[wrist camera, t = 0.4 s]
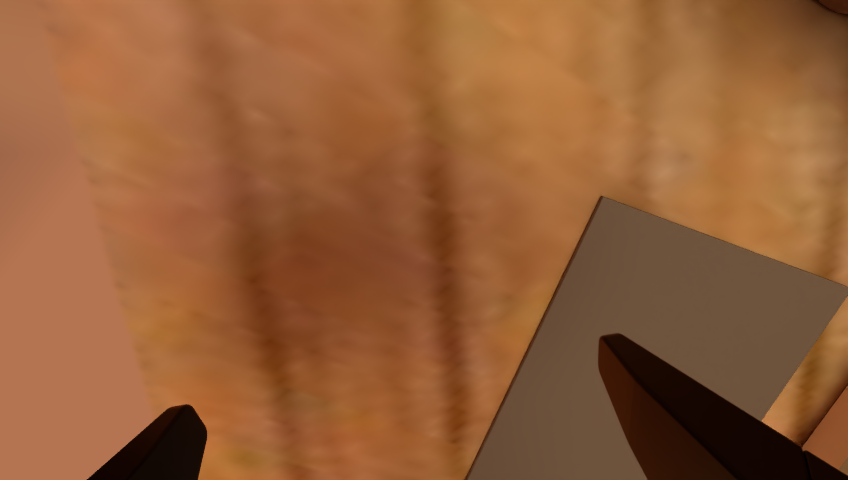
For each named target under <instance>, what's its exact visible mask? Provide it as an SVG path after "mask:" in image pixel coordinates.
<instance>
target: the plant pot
mask: <svg viewBox="0 0 848 480" xmlns="http://www.w3.org/2000/svg"><path fill="white" fill-rule="evenodd" d="M818 1H819V2H820V3H821V4H823V5H824V6H826V7H828V8H829V9H831V10H833V11H835V12H838V13H843V14H848V0H818Z"/></svg>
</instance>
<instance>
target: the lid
mask: <svg viewBox="0 0 848 480" xmlns="http://www.w3.org/2000/svg"><path fill="white" fill-rule="evenodd" d="M838 470H840V471H841V472H843V473H845V474H846V475H848V458H847V459H846V460H845V462H844V463H843V464H842V465H841V467H840V468H839V469H838Z"/></svg>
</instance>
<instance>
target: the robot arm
mask: <svg viewBox="0 0 848 480" xmlns="http://www.w3.org/2000/svg"><path fill="white" fill-rule="evenodd" d="M598 369H599V372H600V375H601V378H602V380H603V383H604V385H605V388H606V390H607V393H608V395H609V398H610V400H611V403H612V405H613V407H614V410H615V412H616V415H617V417H618V420H619V422H620V425H621V427H622V430H623V432H624V434H625V437H626V439H627V441H628V444H629V446H630V448H631V450H632V452H633V454H634V456H635V457H636V459H637V461H638V463H639V465H640V467H641V469H642V470H643V472H644V474H645V476H646V478H647V480H848V475H846V474H845V473H843V472H841V471H840V470H838V469H836V468H835V467H833V466H831V465H830V464H828V463H827V462H825V461H824V460H822V459H820V458H819V457H817V456H816V455H814V454H812V453H811V452H809V451H807V450H804V451H803V449H802V447H801V446H799V445H798V444H796V443H795V442H793V441H791V440H790V439H788V438H787V437H785V436H783V435H782V434H780V433H779V432H777V431H775V430H774V429H772V428H771V427H769V426H768V425H766V424H764V423H763V422H761V421H760V420H758V419H756V418H755V417H753V416H752V415H750V414H748V413H747V412H745V411H744V410H742V409H740V408H739V407H737V406H736V405H734V404H733V403H731V402H729V401H728V400H726V399H725V398H723V397H721V396H720V395H718V394H717V393H715V392H713V391H712V390H710V389H709V388H707V387H705V386H704V385H702V384H701V383H699V382H698V381H696V380H694V379H693V378H691V377H690V376H688V375H686V374H685V373H683V372H682V371H680V370H678V369H677V368H675V367H674V366H672V365H670V364H669V363H667V362H666V361H664V360H663V359H661V358H659V357H658V356H656V355H655V354H653V353H651V352H650V351H648V350H647V349H645V348H643V347H642V346H640V345H639V344H637V343H635V342H634V341H632V340H631V339H629V338H628V337H626V336H624V335H623V334H620V333H613V334H607V335H602V336H601V337H600V338H599V345H598ZM206 441H207V430H206V427H205V425H204V423H203V422H202V420H201V419H200V417H199V416H198V414H197V413H196V411H195V410H194V408H193V407H192V406H190V405H187V404H185V405H179V406H173V407H170V408H168V409H167V410H166V411H165V412H163V413H162V414H161V415H160V416H159V417H158V418H157V419H155V420H154V421H153V422H152V423H151V424H150V425H149V426H148V427H146V428H145V429H144V430H143V431H142V432H141V433H140V434H138V435H137V436H136V437H135V438H134V439H133V440H132V441H130V442H129V443H128V444H127V445H126V446H125V447H124V448H122V449H121V450H120V451H119V452H118V453H117V454H116V455H115V456H113V457H112V458H111V459H110V460H109V461H108V462H107V463H105V464H104V465H103V466H102V467H101V468H100V469H99V470H97V471H96V472H95V473H94V474H93V475H92V476H91V477H89V478H88V479H87V480H198V476H199V472H200V467H201V463H202V458H203V454H204V450H205V445H206Z"/></svg>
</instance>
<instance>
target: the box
mask: <svg viewBox="0 0 848 480" xmlns="http://www.w3.org/2000/svg"><path fill="white" fill-rule="evenodd" d="M802 449H803V451H804V450H807V451H809V452H811V453H812V454H814V455H816V456H817V457H819V458H820V459H822V460H824V461H825V462H827V463H828V464H830V465H831V466H833V467H835V468H836V469H839V468H840V467H841V465H842V464H843V463H844V462H845V460H846V459H847V458H848V386H847V387H846V388H845V390H844V391H843V392H842V394H841V395H840V397H839V398H838V399H837V401H836V402H835V403H834V405H833V406H832V407H831V409H830V410H829V411H828V413H827V414H826V416H825V417H824V418H823V420H822V421H821V422H820V424H819V425H818V426H817V428H816V429H815V430H814V432H813V433H812V435H811V436H810V437H809V439H808V440H807V441H806V443H805V444H804V445H803V447H802Z"/></svg>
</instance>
